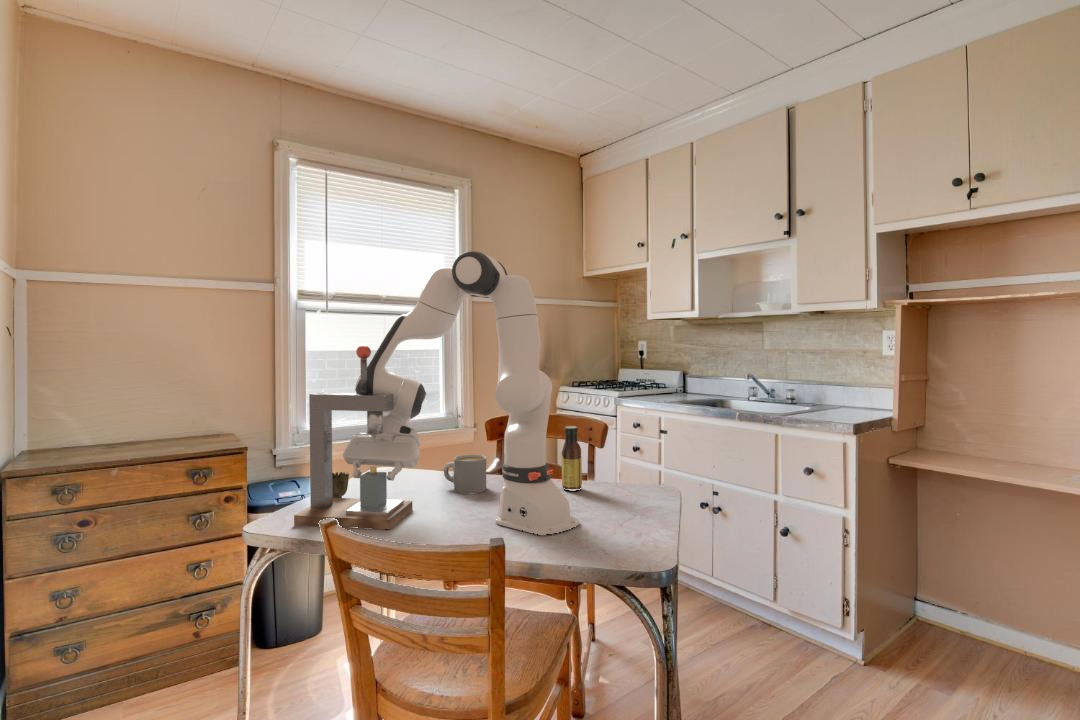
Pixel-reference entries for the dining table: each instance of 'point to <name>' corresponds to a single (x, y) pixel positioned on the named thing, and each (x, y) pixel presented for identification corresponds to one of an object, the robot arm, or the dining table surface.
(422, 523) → the dining table surface
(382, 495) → the housing
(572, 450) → the sauce bottle
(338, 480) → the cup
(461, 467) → the coffee mug
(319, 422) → the press frame
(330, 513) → the press base
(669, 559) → the dining table surface
